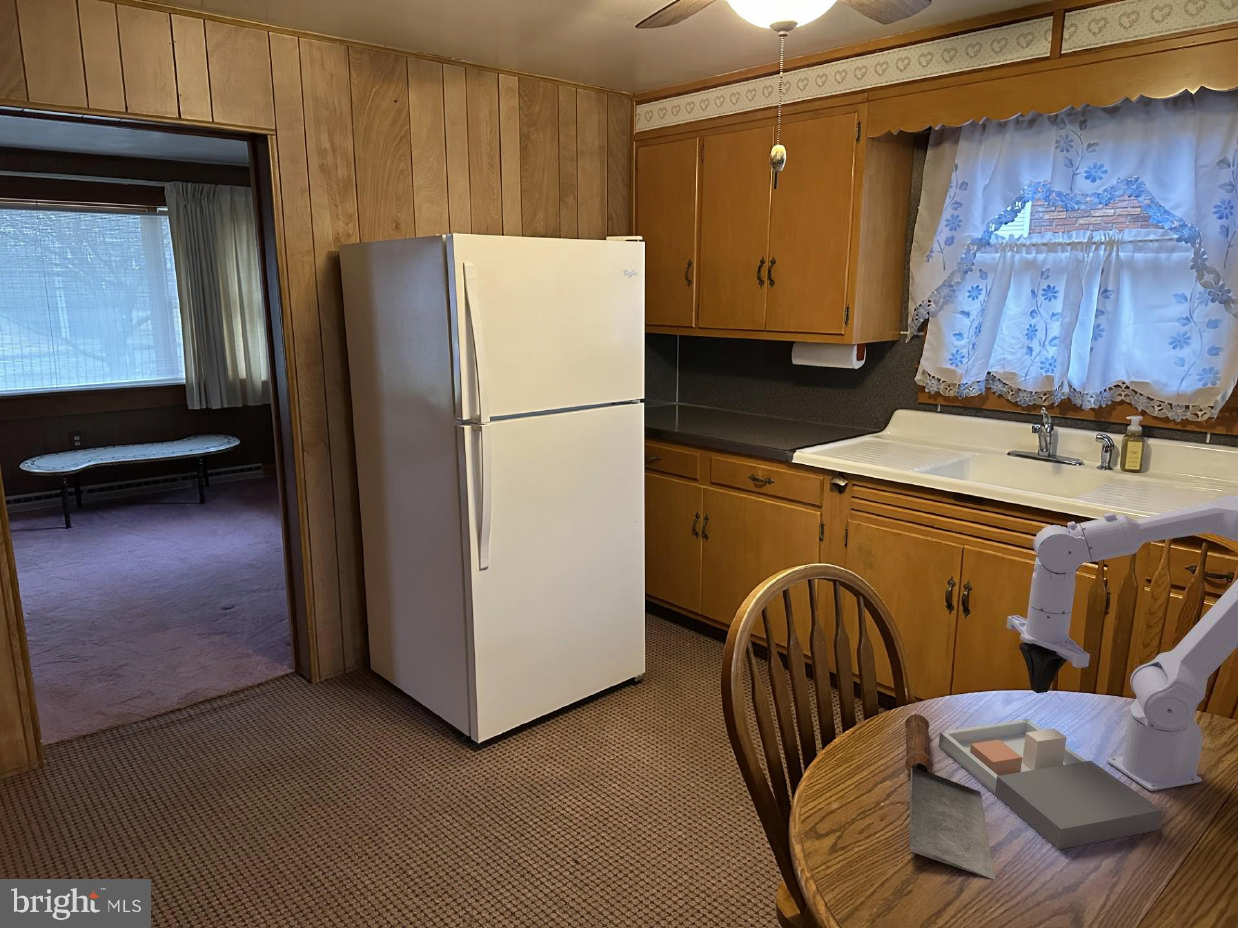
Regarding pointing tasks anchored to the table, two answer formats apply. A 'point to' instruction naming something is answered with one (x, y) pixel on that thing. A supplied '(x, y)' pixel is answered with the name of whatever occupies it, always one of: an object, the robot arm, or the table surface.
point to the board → (1077, 804)
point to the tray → (1007, 732)
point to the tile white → (1044, 749)
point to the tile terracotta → (997, 757)
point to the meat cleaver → (944, 810)
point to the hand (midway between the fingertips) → (1039, 690)
